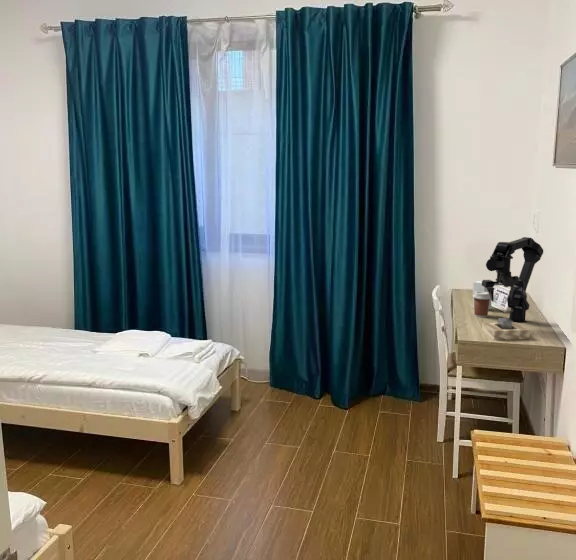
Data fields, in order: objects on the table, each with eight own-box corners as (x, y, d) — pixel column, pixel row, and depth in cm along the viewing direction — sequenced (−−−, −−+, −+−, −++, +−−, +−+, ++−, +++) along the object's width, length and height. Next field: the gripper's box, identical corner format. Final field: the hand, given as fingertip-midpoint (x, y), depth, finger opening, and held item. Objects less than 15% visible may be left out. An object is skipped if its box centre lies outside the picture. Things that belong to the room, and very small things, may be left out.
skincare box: (491, 309, 327) (492, 282, 324) (484, 311, 323) (485, 283, 321) (478, 306, 333) (480, 279, 331) (471, 308, 330) (472, 281, 328)
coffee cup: (494, 316, 310) (495, 293, 308) (478, 318, 308) (479, 295, 305) (483, 313, 319) (484, 290, 317) (468, 314, 316) (469, 291, 314)
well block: (515, 330, 284) (516, 322, 283) (529, 338, 270) (529, 330, 270) (481, 331, 283) (482, 323, 282) (493, 339, 269) (494, 331, 269)
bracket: (505, 332, 281) (506, 317, 280) (513, 337, 273) (513, 322, 272) (497, 332, 281) (498, 318, 279) (504, 337, 273) (505, 322, 272)
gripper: (491, 272, 280) (489, 305, 283) (530, 271, 281) (528, 304, 284) (481, 268, 291) (480, 300, 294) (520, 267, 292) (518, 299, 295)
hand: (501, 301), depth 292 cm, fingers open, 9 cm apart
